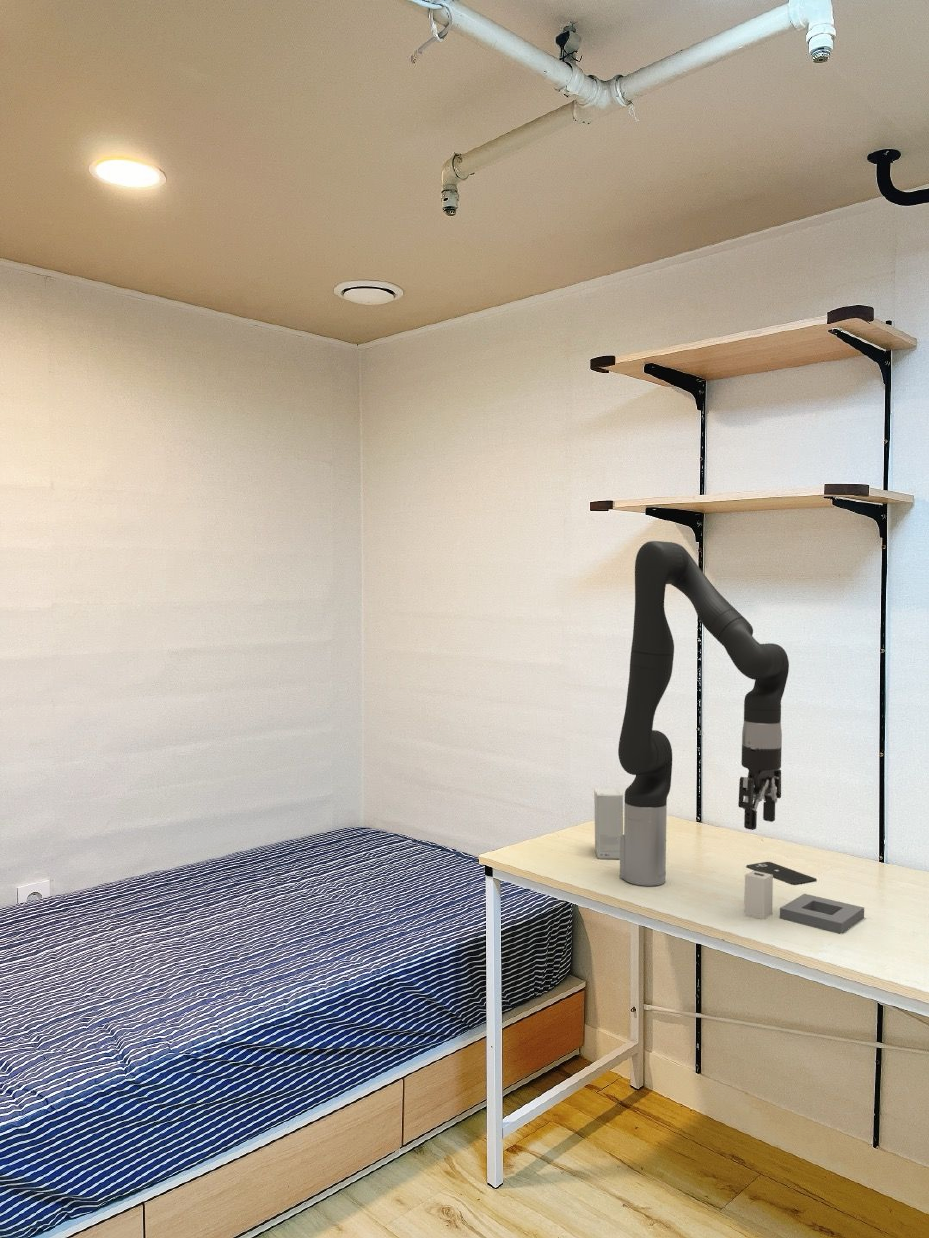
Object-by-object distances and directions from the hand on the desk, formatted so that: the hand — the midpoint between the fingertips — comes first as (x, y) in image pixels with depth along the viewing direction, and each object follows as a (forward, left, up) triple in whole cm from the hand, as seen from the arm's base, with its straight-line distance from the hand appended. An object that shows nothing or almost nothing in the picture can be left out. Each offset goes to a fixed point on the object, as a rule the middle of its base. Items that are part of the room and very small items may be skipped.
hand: (759, 824), depth 180 cm
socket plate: (+10, +7, -18) cm, 22 cm away
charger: (0, 0, -18) cm, 18 cm away
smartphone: (-8, +29, -19) cm, 35 cm away
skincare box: (-45, +14, -18) cm, 50 cm away
